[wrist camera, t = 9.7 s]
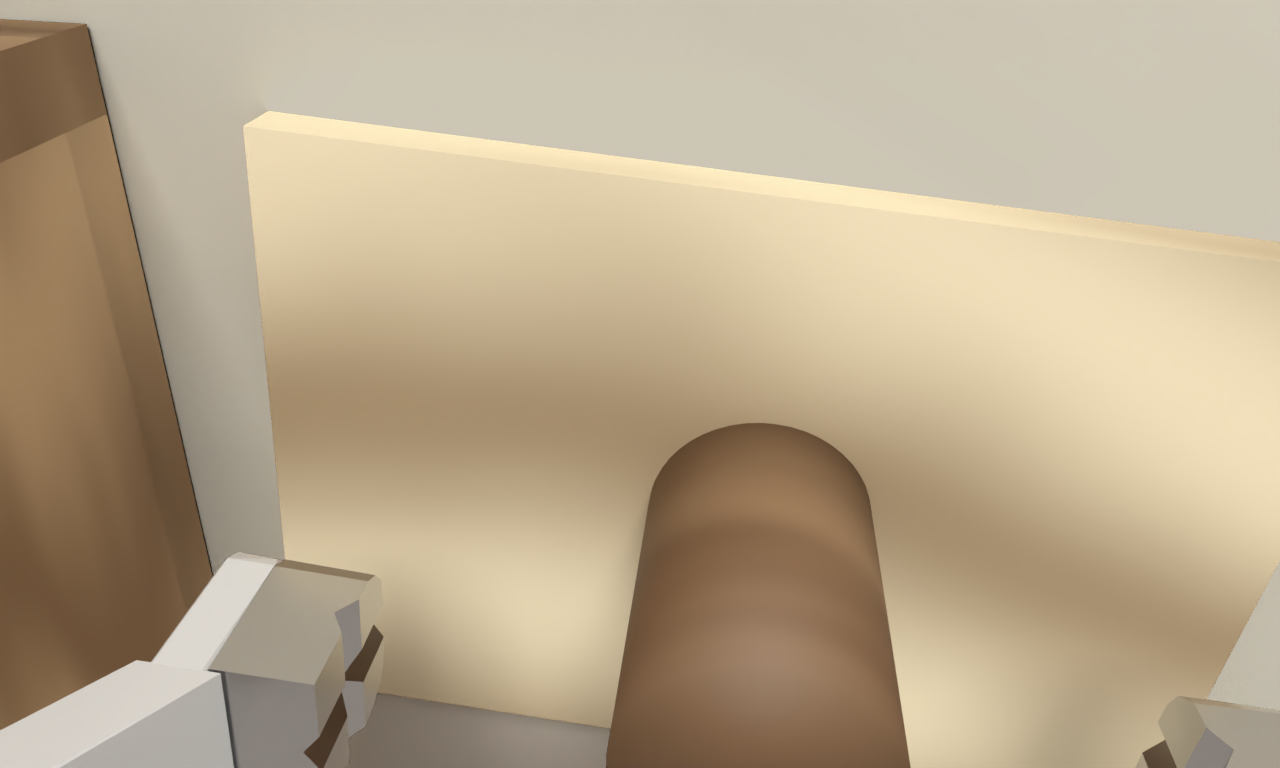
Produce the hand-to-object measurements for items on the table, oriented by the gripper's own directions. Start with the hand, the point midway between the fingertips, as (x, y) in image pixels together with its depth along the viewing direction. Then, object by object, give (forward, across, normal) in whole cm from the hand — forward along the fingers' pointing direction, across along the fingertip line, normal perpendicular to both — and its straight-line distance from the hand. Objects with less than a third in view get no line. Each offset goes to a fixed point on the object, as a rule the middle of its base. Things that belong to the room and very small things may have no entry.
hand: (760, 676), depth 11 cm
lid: (+4, 0, 0) cm, 4 cm away
